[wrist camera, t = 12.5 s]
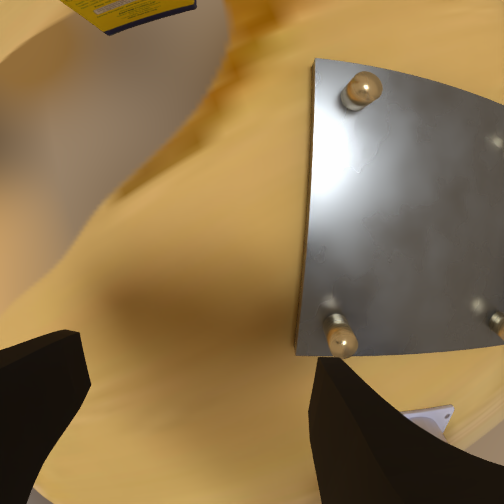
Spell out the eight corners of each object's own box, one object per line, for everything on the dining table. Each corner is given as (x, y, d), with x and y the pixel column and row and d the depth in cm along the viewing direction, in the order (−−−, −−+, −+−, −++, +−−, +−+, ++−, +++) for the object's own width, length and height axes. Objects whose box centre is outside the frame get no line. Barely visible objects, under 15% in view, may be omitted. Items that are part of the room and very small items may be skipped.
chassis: (497, 337, 18) (523, 359, 14) (294, 345, 18) (298, 379, 15) (526, 121, 14) (559, 117, 11) (312, 65, 15) (322, 39, 11)
